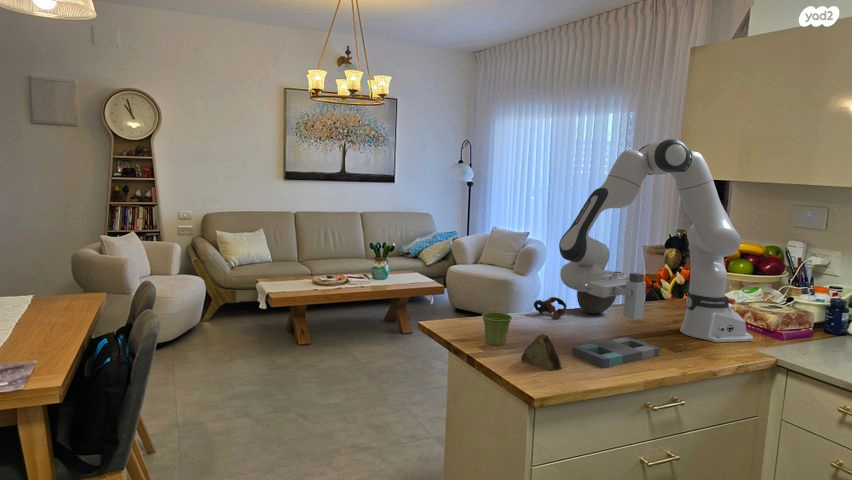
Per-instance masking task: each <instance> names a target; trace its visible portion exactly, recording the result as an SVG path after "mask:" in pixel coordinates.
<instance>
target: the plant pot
mask: <svg viewBox="0 0 852 480" xmlns="http://www.w3.org/2000/svg"><path fill="white" fill-rule="evenodd" d="M481 317H482V319H483V323H484V334H485V335H484V337H485V342H486V344H488V345H491V346H498V345H500V346H503V345H505V344H506V341H507V335H508V330H509V326H510V323H511V321H512V318H513V317H512V316H511V315H510V314H507V313H503V312H500V311H499V312H495V311H491V312H484V313H482V315H481Z"/></svg>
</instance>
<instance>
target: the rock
mask: <svg viewBox="0 0 852 480" xmlns="http://www.w3.org/2000/svg"><path fill="white" fill-rule="evenodd" d="M520 359H521V362H523V363H526V364H529V365H531V366H535V367H537V368H541V369H545V370H548V371H556V370H557V371H559V370H562V369H563V367H562V363H561V360H560V359H561V358H560V357H559V355H558V353H557V351H556V348H555V345H554V344H553V342H552V340H551V339H550V337H549V335H546V334H543V333H541V334H539V335H537V336H536V337H535V339H533V341H532V342H531V343H530V344H529V345H528V346H527V347H526V348H525V349H524V352H523V354H521V358H520Z"/></svg>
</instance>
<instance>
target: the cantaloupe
mask: <svg viewBox="0 0 852 480" xmlns="http://www.w3.org/2000/svg"><path fill="white" fill-rule="evenodd" d="M576 291H577V290H576ZM576 297H577V303H578V306H579V308H580V309H582V310H583V311H584V312H586V313H588V314H590V315H595V314H597V315H598V314H601V313H604V312H605V311H607V310H608V309H609V308H610V307H611V306H612V305H613V304H614V303H615V300H616V297H617V296H610V297H606V298H602V297H598V296H594V295H591V294H589V293H587V292H580V291H577V292H576Z"/></svg>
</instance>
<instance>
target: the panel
mask: <svg viewBox="0 0 852 480" xmlns="http://www.w3.org/2000/svg"><path fill="white" fill-rule="evenodd" d="M659 355H660V347H659V346H655V345H652V344H649V343H647V342H643V341H640V340H638V339H635V338H632V337H629V336H624V337H619V338H614V339H608V340H601V341H598V342H593V343H587V344H582V345H577V346H572V356H573V357H576V358H578V359H580V360H582V361H585V362H588V363H590V364H593V365H594V366H595V365H596V366H597V367H600V368H603V369H607V368H609V367H615V366H619V365H623V364H627V363H632V362H637V361H641V360H645V359H650V358H654V357H660V356H659Z"/></svg>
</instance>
